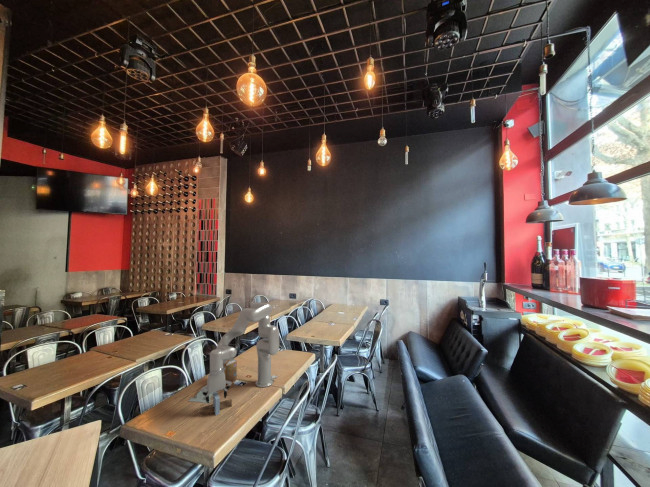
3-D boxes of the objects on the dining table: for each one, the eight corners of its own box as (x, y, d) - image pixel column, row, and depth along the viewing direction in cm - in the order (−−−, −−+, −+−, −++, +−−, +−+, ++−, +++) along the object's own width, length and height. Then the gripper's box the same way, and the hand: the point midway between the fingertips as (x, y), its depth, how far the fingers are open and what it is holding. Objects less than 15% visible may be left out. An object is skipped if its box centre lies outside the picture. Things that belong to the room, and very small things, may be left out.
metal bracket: (200, 383, 180) (220, 385, 177) (202, 390, 181) (221, 392, 178) (186, 400, 166) (207, 402, 163) (188, 407, 167) (209, 410, 165)
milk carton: (236, 379, 197) (236, 354, 198) (225, 386, 187) (225, 359, 188) (226, 377, 201) (226, 352, 202) (215, 382, 192) (215, 356, 193)
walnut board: (231, 405, 162) (231, 398, 162) (231, 406, 161) (231, 399, 161) (199, 414, 153) (199, 407, 153) (199, 416, 152) (199, 409, 152)
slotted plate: (212, 407, 161) (212, 392, 161) (216, 406, 162) (216, 391, 162) (215, 415, 152) (215, 399, 153) (219, 414, 153) (219, 398, 154)
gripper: (230, 365, 166) (230, 392, 165) (200, 372, 157) (200, 401, 156) (232, 369, 160) (232, 398, 159) (201, 377, 150) (201, 407, 150)
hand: (216, 399), depth 158 cm, fingers open, 9 cm apart
